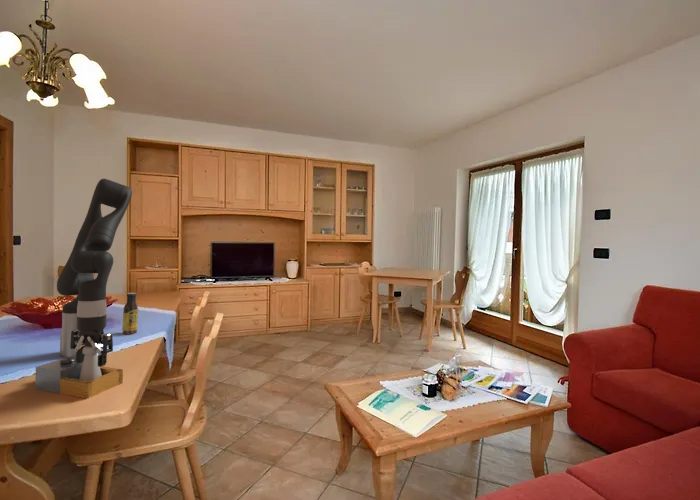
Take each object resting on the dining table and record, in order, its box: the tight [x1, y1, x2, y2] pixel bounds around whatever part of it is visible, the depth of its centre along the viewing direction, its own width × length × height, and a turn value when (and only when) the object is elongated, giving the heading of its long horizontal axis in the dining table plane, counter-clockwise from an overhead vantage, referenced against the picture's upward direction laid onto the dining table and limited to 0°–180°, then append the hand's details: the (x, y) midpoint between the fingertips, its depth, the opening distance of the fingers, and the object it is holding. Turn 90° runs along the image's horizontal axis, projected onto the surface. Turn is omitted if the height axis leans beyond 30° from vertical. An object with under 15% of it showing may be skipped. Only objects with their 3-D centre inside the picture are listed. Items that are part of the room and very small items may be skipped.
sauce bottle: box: [122, 292, 139, 335], centre depth 169 cm, size 6×6×20 cm
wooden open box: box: [34, 355, 124, 399], centre depth 111 cm, size 24×12×8 cm, turn 76°
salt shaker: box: [79, 346, 102, 381], centre depth 109 cm, size 6×6×13 cm
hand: (91, 364), depth 109 cm, fingers open, 8 cm apart
